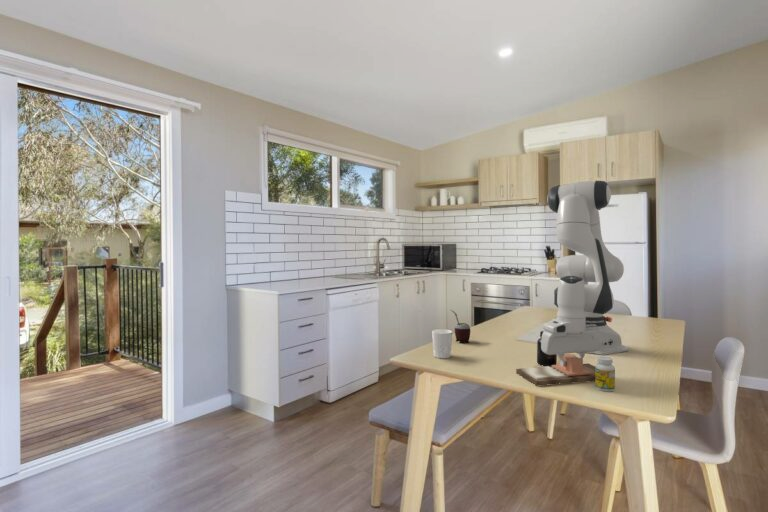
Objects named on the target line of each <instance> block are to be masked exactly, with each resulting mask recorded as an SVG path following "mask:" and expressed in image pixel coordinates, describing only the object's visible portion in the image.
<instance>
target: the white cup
mask: <svg viewBox="0 0 768 512" xmlns="http://www.w3.org/2000/svg"><path fill="white" fill-rule="evenodd" d="M431 335H432V336H431V337H432V349H433V351H432V352H433V357H435V358H436V359H437V358H438V359H449V358H451V355H452V353H451V352H452V341H453V331H452V330H450V329H443V328H440V329H439V328H438V329H433V330H432V331H431Z"/></svg>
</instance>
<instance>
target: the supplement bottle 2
mask: <svg viewBox="0 0 768 512" xmlns="http://www.w3.org/2000/svg"><path fill="white" fill-rule="evenodd" d="M597 362H598V363H596V364H595V365H594V366H595V381H594V383H595V386H594V387H595V388H596V390H598V391H600V392H607V393H608V392H610V393H612V392H614V391H615V390H616V367H615V366H614V365H613V364H614V362H613V358H611V357H609V356H598V357H597Z"/></svg>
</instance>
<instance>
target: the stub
mask: <svg viewBox="0 0 768 512" xmlns="http://www.w3.org/2000/svg"><path fill="white" fill-rule="evenodd" d="M563 358H564V360H565V361H567V366H564V367H562V366H561V365H560V360H559V359H558V362H559V363H558V364H556V365H552V367H553V368H555V369H557V370H559V371H561V372H563V373H565V374H567V375H568V376H576V375H588V374H591V372H589V371H587V370H585V369H583V364H584V358H583V359H581V358H578V356H577V355H576V356H575V355H573V354H572V353H565V354H564V357H563Z"/></svg>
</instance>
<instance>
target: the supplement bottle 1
mask: <svg viewBox="0 0 768 512" xmlns="http://www.w3.org/2000/svg"><path fill="white" fill-rule="evenodd" d="M544 331H545V330H541V331H540V332H539V333H540V334H539V337H540V338H538V339H537V342H536V343H537V344H536V362H537V363H536V364H537V365H539V364H540V366H542V365H543V366H542V367H545V366H552V365H558V362H557V361H558V360H557V358H558V356H557V354H551V355H548V354H546V353H544V352H543V351H542V350H541V339H542V334H543V332H544Z"/></svg>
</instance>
